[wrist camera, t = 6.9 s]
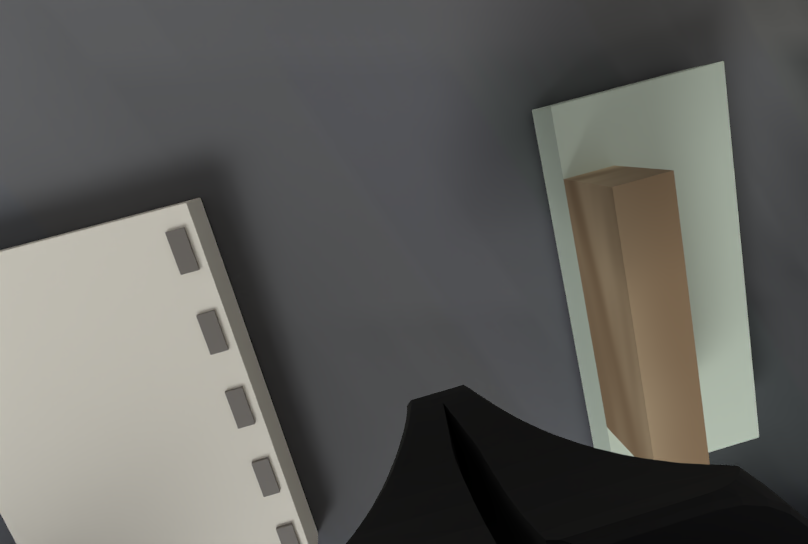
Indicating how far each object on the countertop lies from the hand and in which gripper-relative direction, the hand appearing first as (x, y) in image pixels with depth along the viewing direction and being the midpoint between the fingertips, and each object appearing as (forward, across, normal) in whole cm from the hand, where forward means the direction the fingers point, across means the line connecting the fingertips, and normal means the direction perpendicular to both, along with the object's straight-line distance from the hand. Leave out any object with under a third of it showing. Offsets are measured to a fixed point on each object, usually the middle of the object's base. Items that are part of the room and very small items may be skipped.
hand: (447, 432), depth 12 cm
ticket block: (+6, +9, 0) cm, 11 cm away
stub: (+6, -8, 0) cm, 10 cm away
